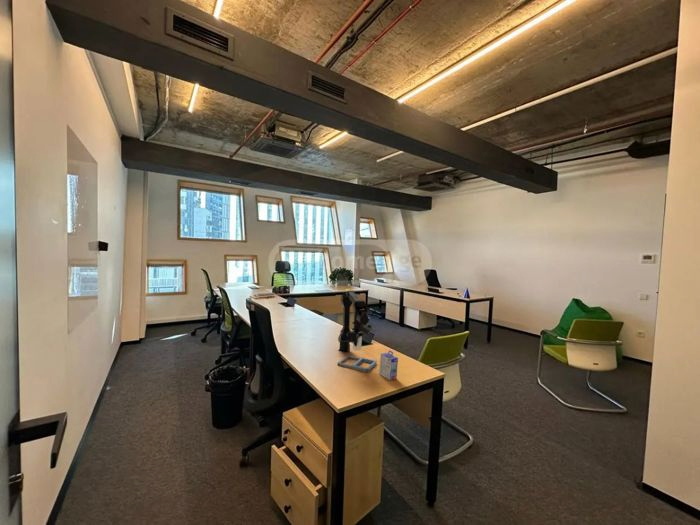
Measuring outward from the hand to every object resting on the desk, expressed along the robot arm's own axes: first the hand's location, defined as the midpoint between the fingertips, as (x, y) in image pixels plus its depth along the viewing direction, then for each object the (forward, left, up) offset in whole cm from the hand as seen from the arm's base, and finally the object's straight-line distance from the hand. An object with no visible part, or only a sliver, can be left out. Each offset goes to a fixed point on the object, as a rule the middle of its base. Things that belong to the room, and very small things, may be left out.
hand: (357, 345), depth 181 cm
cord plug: (0, 0, -3) cm, 2 cm away
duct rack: (+1, 0, -12) cm, 12 cm away
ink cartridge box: (+23, -6, -13) cm, 27 cm away
